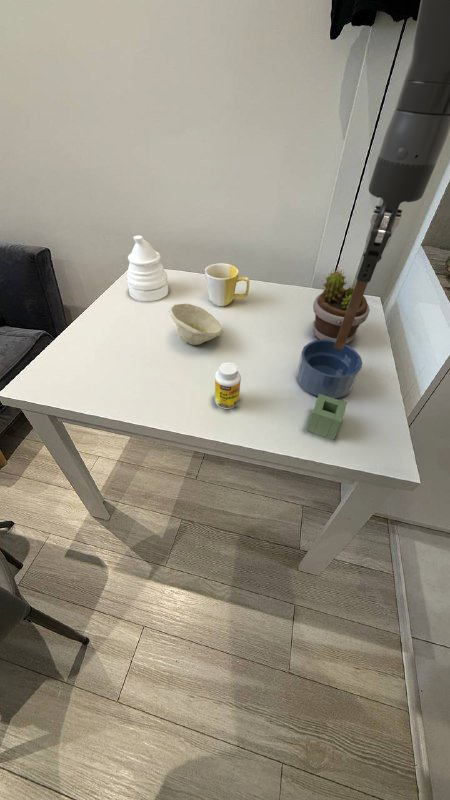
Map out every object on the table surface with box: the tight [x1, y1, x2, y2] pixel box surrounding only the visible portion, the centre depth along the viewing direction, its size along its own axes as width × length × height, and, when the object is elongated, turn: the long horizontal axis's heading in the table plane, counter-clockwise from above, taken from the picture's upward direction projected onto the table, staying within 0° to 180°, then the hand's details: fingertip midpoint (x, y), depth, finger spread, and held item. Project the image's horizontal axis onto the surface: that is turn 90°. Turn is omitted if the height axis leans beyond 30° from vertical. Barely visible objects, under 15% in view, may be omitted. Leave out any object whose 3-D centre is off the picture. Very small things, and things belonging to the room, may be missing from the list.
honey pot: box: [126, 235, 169, 302], centre depth 103 cm, size 13×13×18 cm
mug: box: [204, 262, 250, 307], centre depth 102 cm, size 14×10×10 cm
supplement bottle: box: [214, 361, 242, 410], centre depth 72 cm, size 6×6×10 cm
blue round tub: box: [295, 339, 363, 399], centre depth 79 cm, size 14×14×8 cm
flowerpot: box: [312, 266, 371, 345], centre depth 88 cm, size 14×15×20 cm
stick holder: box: [306, 394, 348, 440], centre depth 69 cm, size 6×6×6 cm
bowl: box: [168, 303, 224, 346], centre depth 88 cm, size 15×14×10 cm
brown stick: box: [334, 250, 378, 350], centre depth 60 cm, size 2×2×20 cm
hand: (363, 277), depth 57 cm, fingers closed on brown stick, 2 cm apart
